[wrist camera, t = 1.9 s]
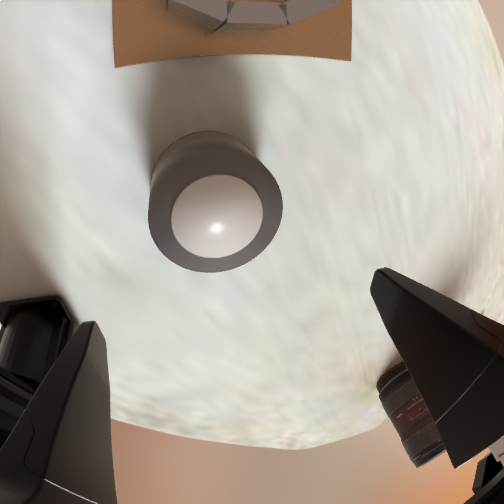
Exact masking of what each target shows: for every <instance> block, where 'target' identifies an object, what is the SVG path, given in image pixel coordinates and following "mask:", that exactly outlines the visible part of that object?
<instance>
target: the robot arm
mask: <svg viewBox="0 0 504 504" xmlns="http://www.w3.org/2000/svg"><path fill="white" fill-rule="evenodd" d="M370 292H371V296H372V298H373V300H374V302H375V304H376V307H377V309H378V311H379V313H380V316H381V318H382V320H383V323H384V325H385V327H386V329H387V331H388V333H389V335H390V337H391V339H392V340H393V342H394V344H395V346H396V348H397V350H398V352H399V353H400V355H401V357H402V359H403V361H404V363H405V365H406V367H407V369H408V370H409V372H410V374H411V376H412V378H413V380H414V382H415V384H416V386H417V388H418V390H419V392H420V394H421V396H422V398H423V400H424V402H425V404H426V406H427V408H428V411H429V413H430V415H431V417H432V419H433V421H434V423H435V426H436V428H437V430H438V432H439V435H440V437H441V439H442V441H443V444H444V446H445V448H446V451H447V453H448V455H449V458H450V460H451V462H452V465H453V467H454V468H455V469H456V468H458V467H459V466H461V465H463V464H464V463H466V462H467V461H469V460H470V459H472V458H474V457H475V456H477V455H478V454H479V453H481V452H482V451H484V450H485V449H487V448H488V447H489V449H490V451H491V452H489V453H488V454H487V455H486V456H485V457H484V458H483V459H482V460H480V461H479V462H478V465H477V470H476V475H475V479H474V484H473V488H472V490H473V492H474V494H475V495H473V496H472V497H471V498H470V499H469V500H467V501H466V502H465V503H464V504H504V325H502V324H500V323H498V322H496V321H494V320H491V319H489V318H487V317H485V316H483V315H481V314H479V313H477V312H476V311H474V310H472V309H469V308H468V307H466V306H464V305H462V304H460V303H458V302H456V301H454V300H452V299H450V298H448V297H446V296H444V295H442V294H441V293H439V292H437V291H435V290H433V289H431V288H429V287H426V286H424V285H422V284H420V283H418V282H416V281H414V280H412V279H410V278H408V277H406V276H404V275H402V274H400V273H398V272H396V271H394V270H392V269H389V268H387V267H384V268H380V269H377V270H376V271H375V273H374V276H373V280H372V283H371V287H370ZM54 302H56V303H58V304H56V303H54ZM0 323H1V324H2V327H1V330H0V504H117V497H116V491H115V490H116V489H115V480H114V470H113V458H112V443H111V424H110V423H111V421H110V384H109V374H108V363H107V349H106V341H105V338H104V336H103V334H102V332H101V330H100V328H99V326H98V324H97V323H96V322H95V321H86V322H83V323H82V324H81V325H80V326H79V328H78V326H77V324H76V323H75V322H74V321H73V320H72V318H71V316H70V314H69V312H68V310H67V308H66V306H65V304H64V302H63V300H62V299H61V298H60V297H59V296H56V295H53V296H46V297H39V298H32V299H25V300H18V301H11V302H4V303H0Z"/></svg>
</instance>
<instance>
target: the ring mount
mask: <svg viewBox="0 0 504 504" xmlns="http://www.w3.org/2000/svg"><path fill="white" fill-rule="evenodd" d="M351 40H352V0H113V45H114V62H115V68H119V67H124V66H129V65H135V64H140V63H147V62H153V61H161V60H168V59H177V58H187V57H198V56H214V55H243V54H260V55H290V56H305V57H317V58H327V59H335V60H343V61H351Z"/></svg>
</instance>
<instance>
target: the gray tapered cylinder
mask: <svg viewBox="0 0 504 504" xmlns="http://www.w3.org/2000/svg"><path fill="white" fill-rule="evenodd" d="M282 210H283V203H282V196H281V192H280V189H279V186H278V184H277V182H276V180H275V178H274V177H273V175H272V174H271V173H270V171H269V170H268V169H267V168H266V167H265V166H264V165H263V164H262V163H261V162H260V161H259V160H258V159H257V158H256V156H255V155H254V154H253V153H252V152H251V151H250V150H249V149H248V148H247V147H246V146H245V145H244V144H243V143H242V142H240V141H239V140H237V139H236V138H234V137H232V136H230V135H227V134H224V133H220V132H213V131H203V132H197V133H193V134H189V135H186V136H184V137H182V138H180V139H178V140H177V141H175V142H174V143H173V144H171V145H170V146H169V147H168V148H167V149H166V150H165V151H164V152H163V153H162V155H161V156H160V158H159V159H158V161H157V163H156V165H155V167H154V170H153V174H152V179H151V188H150V198H149V209H148V223H149V229H150V233H151V236H152V238H153V240H154V242H155V244H156V246H157V247H158V249H159V250H160V251H161V252H162V253H163V254H164V255H165V256H166V257H167V258H168V259H169V260H171V261H172V262H174V263H175V264H177V265H179V266H181V267H183V268H186V269H189V270H193V271H197V272H206V273H208V272H222V271H227V270H231V269H234V268H237V267H239V266H241V265H244V264H245V263H247V262H249V261H251V260H252V259H254V258H255V257H256V256H258V255H259V254H260V253H261V252H262V251H263V250H264V249H265V248H266V247H267V246H268V245H269V243H270V242H271V241H272V239H273V238H274V236H275V234H276V232H277V230H278V228H279V225H280V222H281V218H282Z"/></svg>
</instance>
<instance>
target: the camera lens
mask: <svg viewBox="0 0 504 504" xmlns="http://www.w3.org/2000/svg"><path fill="white" fill-rule="evenodd" d="M376 387H377V390H378V392H379V393H380V394H379V398H380V400H381V402H382V405H383V408H384V410H385V411H386V413H387V415H388V417H389V418H390V419H391V421H392V423H393V425H394V427H395V428H396V430H397V432H398V434H399V436H400V437H401V441H402V444H403V446H404V448H405V450H406V452H407V454H408V455H409V457H410V459H411V461H412V462H413V463H414V464H415V466H416V467H417V468H418V467H420V466H422V465H424V464H426V463H428V462H429V461H431V460H433V459H434V458H436V457H438V456H439V455H441V454H442V453H444V452H445V451H446V448H445V446H444V444H443V441H442V439H441V437H440V435H439V432H438V430H437V428H436V426H435V423H434V421H433V419H432V417H431V415H430V413H429V411H428V408H427V406H426V404H425V402H424V400H423V398H422V396H421V394H420V392H419V390H418V388H417V386H416V384H415V382H414V380H413V378H412V376H411V374H410V372H409V370H408V369H407V367H406V365H405V363H404V362H403V363H401V364H399V365H397V366H395V367H394V368H393V369H391V370H390V371H388V372H387V373H386V374H385V375H384V376H383V377H382V378H381V379H380V380H379V382H378V383H377V386H376Z"/></svg>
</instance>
